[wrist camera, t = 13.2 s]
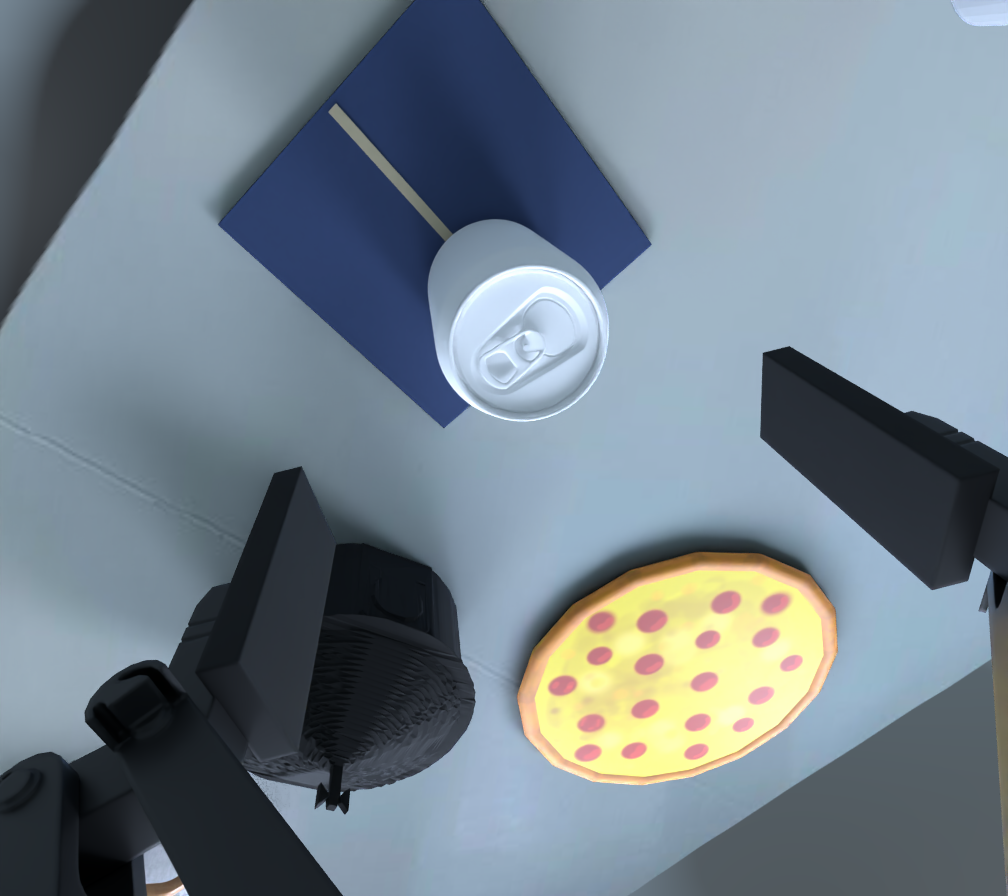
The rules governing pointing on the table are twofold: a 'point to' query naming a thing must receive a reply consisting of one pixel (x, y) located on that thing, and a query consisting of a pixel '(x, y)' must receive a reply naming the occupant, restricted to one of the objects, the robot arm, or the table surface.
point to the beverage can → (515, 321)
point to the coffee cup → (982, 12)
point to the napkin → (424, 188)
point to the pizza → (678, 667)
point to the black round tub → (378, 680)
